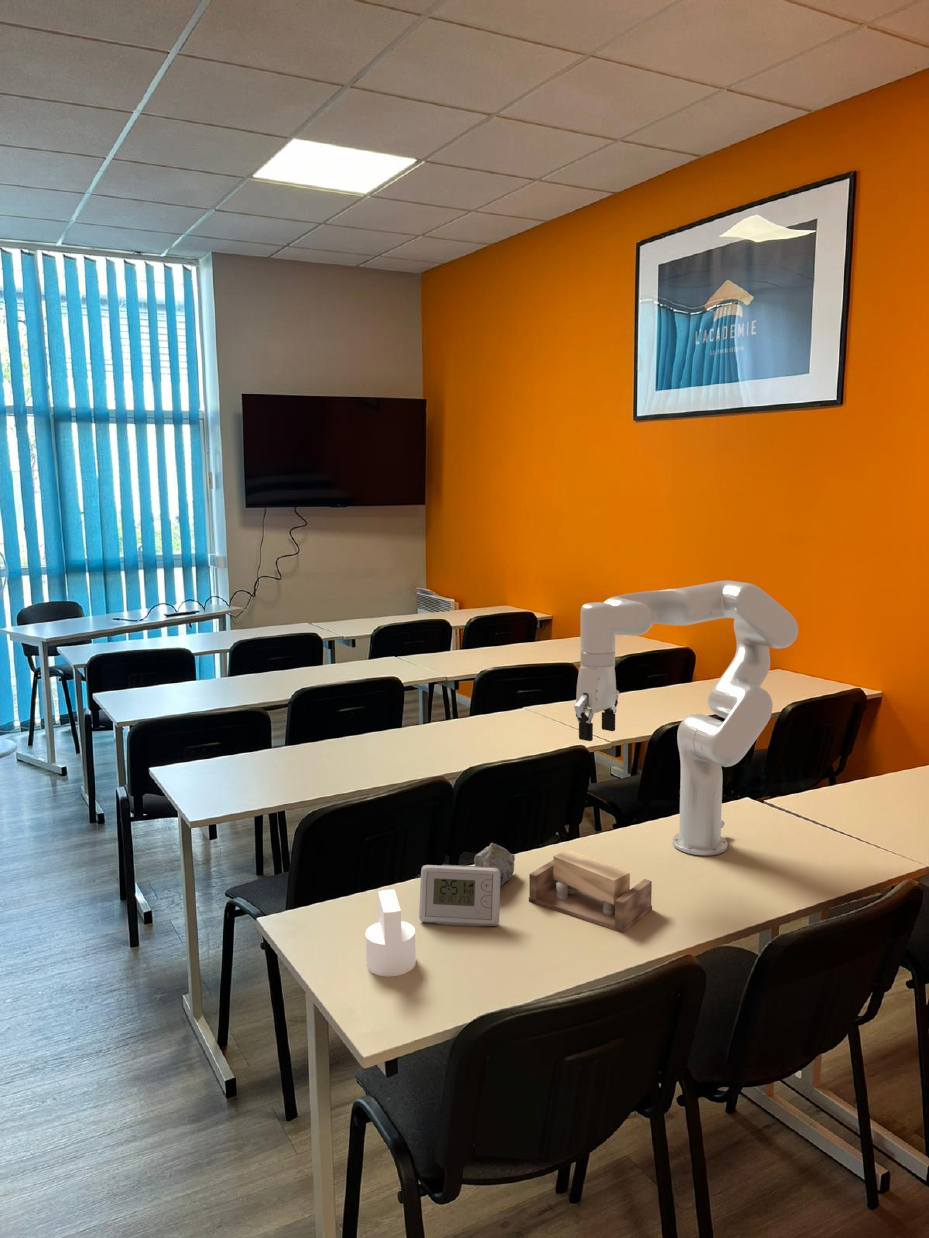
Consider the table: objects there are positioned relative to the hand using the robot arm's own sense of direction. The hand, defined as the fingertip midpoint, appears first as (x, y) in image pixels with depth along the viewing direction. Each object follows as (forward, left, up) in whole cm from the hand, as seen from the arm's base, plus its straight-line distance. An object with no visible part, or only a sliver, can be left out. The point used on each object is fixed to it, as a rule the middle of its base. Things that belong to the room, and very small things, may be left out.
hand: (597, 735), depth 199 cm
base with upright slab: (+59, -8, -31) cm, 67 cm away
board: (+18, +9, -26) cm, 33 cm away
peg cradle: (+18, +9, -30) cm, 36 cm away
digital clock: (+39, -8, -31) cm, 50 cm away
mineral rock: (+22, -12, -31) cm, 40 cm away
